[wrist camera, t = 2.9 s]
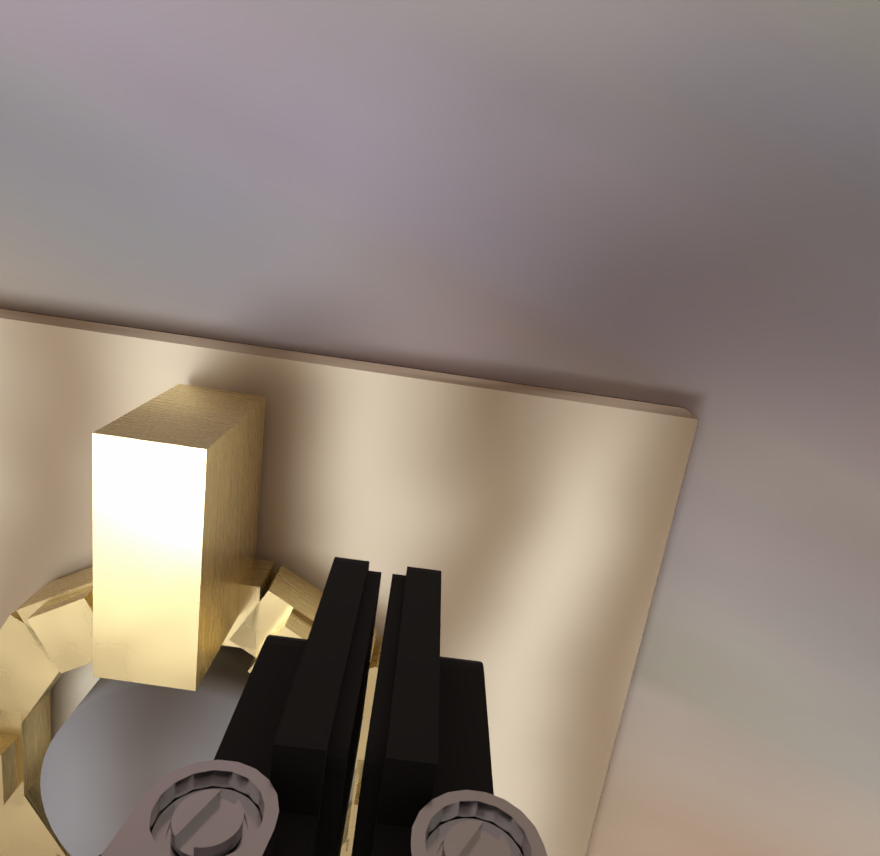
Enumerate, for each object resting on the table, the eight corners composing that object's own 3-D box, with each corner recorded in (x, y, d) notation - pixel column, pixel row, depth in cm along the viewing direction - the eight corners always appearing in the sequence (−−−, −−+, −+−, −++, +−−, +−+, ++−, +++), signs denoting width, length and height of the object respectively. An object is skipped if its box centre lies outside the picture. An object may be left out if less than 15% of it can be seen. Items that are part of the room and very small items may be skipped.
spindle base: (685, 408, 20) (733, 449, 17) (528, 1031, 28) (537, 1153, 24) (-206, 278, 20) (-354, 291, 16) (-122, 942, 27) (-212, 1052, 24)
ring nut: (477, 425, 19) (482, 489, 14) (393, 936, 24) (378, 1098, 20) (-32, 352, 19) (-187, 393, 14) (-2, 882, 24) (-108, 1032, 20)
